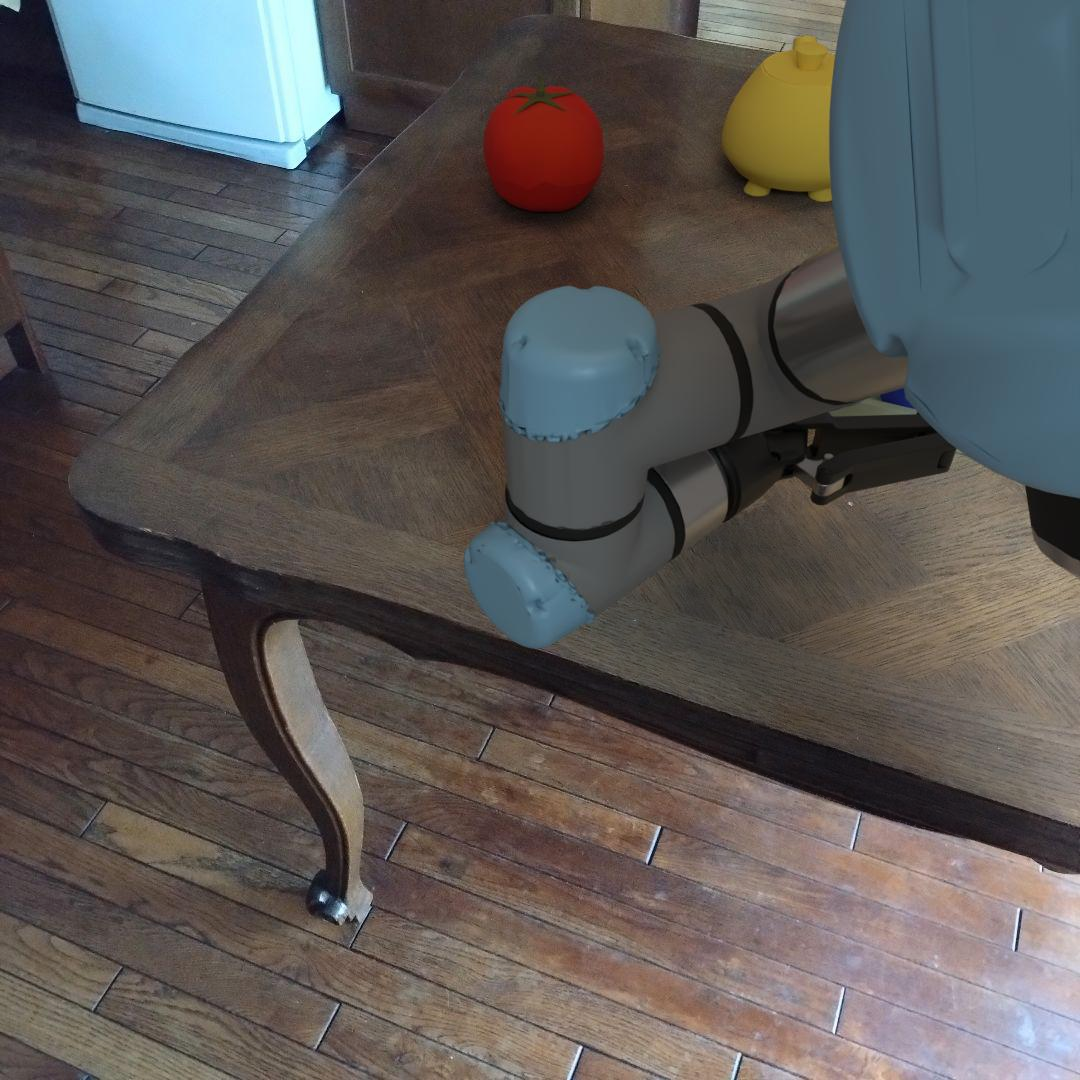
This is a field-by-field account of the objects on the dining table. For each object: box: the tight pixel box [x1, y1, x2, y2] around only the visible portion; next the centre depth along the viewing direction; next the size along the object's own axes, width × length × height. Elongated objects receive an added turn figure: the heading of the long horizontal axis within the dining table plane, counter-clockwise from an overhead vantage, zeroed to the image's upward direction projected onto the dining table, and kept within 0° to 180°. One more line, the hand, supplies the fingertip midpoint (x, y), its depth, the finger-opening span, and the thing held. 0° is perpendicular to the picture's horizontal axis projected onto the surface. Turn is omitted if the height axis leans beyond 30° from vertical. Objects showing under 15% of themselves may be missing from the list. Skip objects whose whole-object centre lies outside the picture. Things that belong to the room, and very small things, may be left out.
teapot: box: [720, 35, 835, 203], centre depth 111 cm, size 20×16×14 cm
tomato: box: [482, 74, 605, 213], centre depth 107 cm, size 12×13×12 cm
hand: (890, 339), depth 75 cm, fingers open, 13 cm apart
